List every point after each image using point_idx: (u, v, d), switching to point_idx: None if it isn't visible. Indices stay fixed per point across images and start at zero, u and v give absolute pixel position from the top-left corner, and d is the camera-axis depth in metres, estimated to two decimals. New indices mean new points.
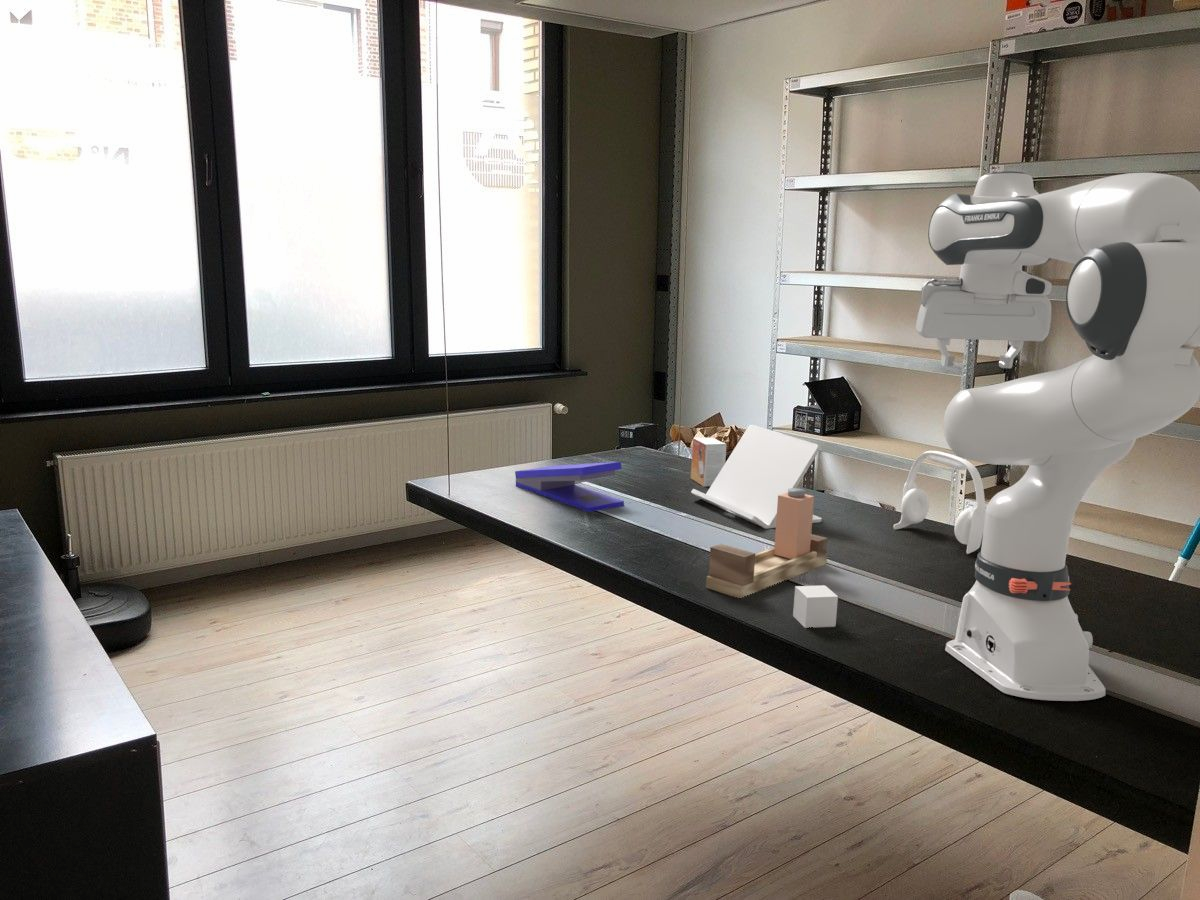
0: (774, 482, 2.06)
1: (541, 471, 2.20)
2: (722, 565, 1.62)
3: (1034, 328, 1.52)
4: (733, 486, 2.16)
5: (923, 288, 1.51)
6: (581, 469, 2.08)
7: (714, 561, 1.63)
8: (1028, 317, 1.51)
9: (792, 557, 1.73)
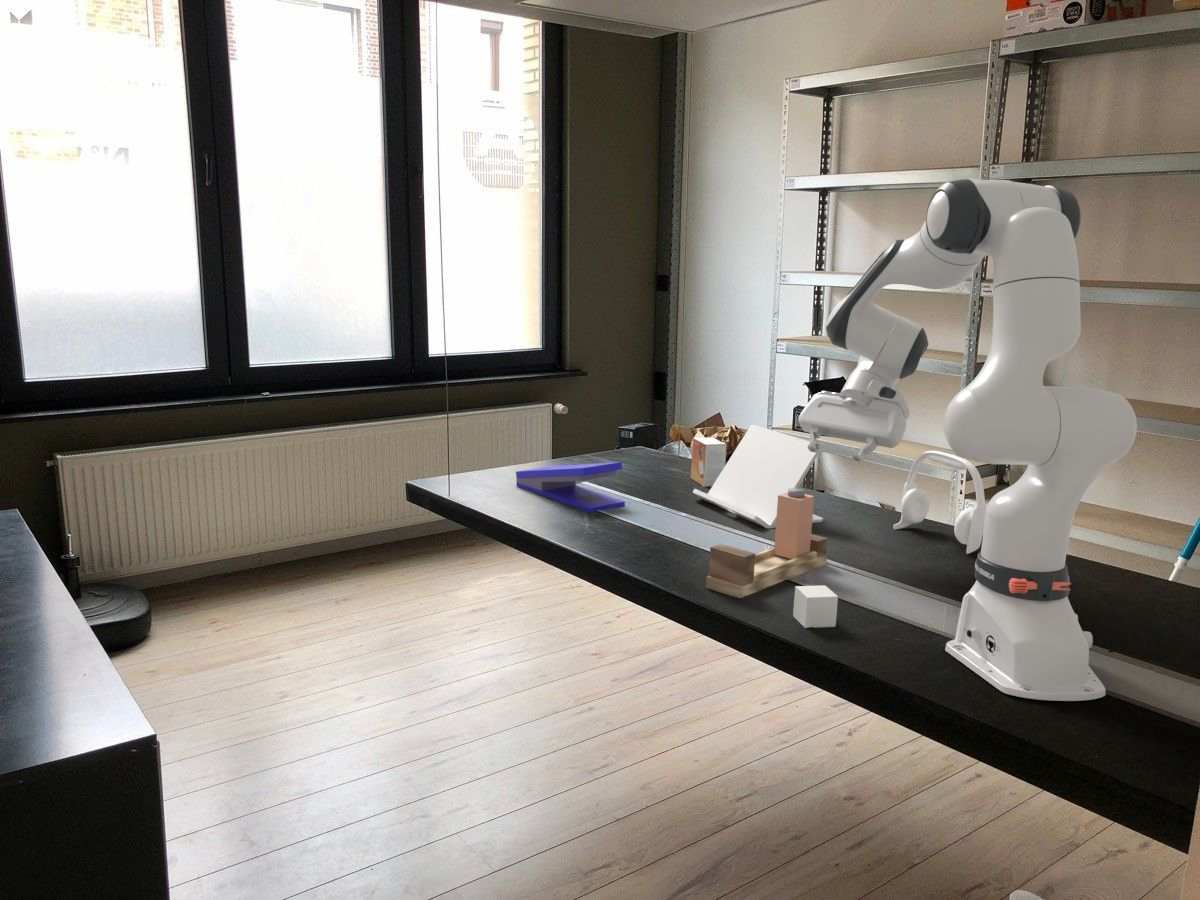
0: (776, 482, 2.07)
1: (542, 471, 2.20)
2: (722, 565, 1.62)
3: (883, 426, 1.78)
4: (735, 486, 2.16)
5: (813, 395, 1.92)
6: (582, 469, 2.08)
7: (714, 561, 1.63)
8: (881, 419, 1.79)
9: (792, 557, 1.73)
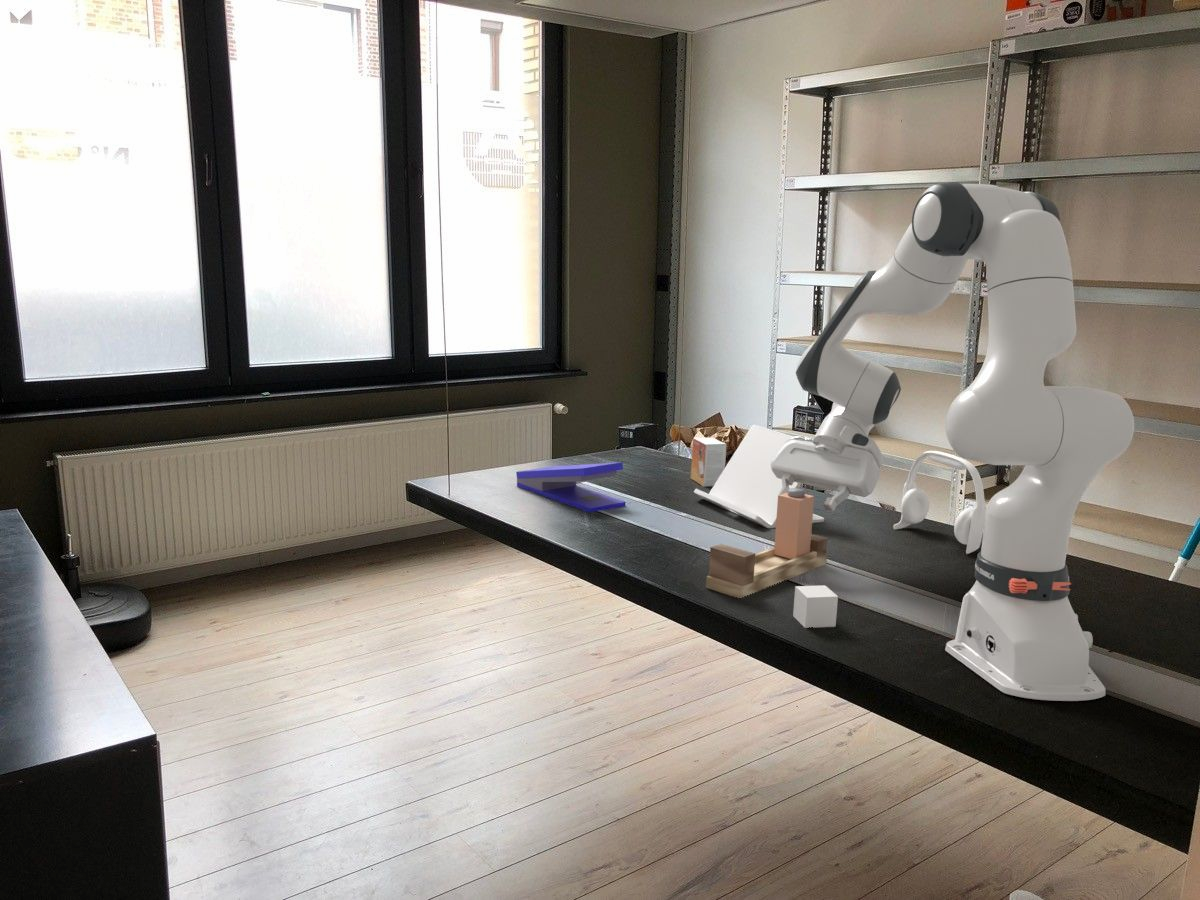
0: (777, 482, 2.07)
1: (542, 472, 2.20)
2: (722, 565, 1.62)
3: (855, 475, 1.73)
4: (736, 486, 2.16)
5: (787, 440, 1.87)
6: (582, 470, 2.07)
7: (714, 561, 1.63)
8: (853, 466, 1.74)
9: (792, 557, 1.73)
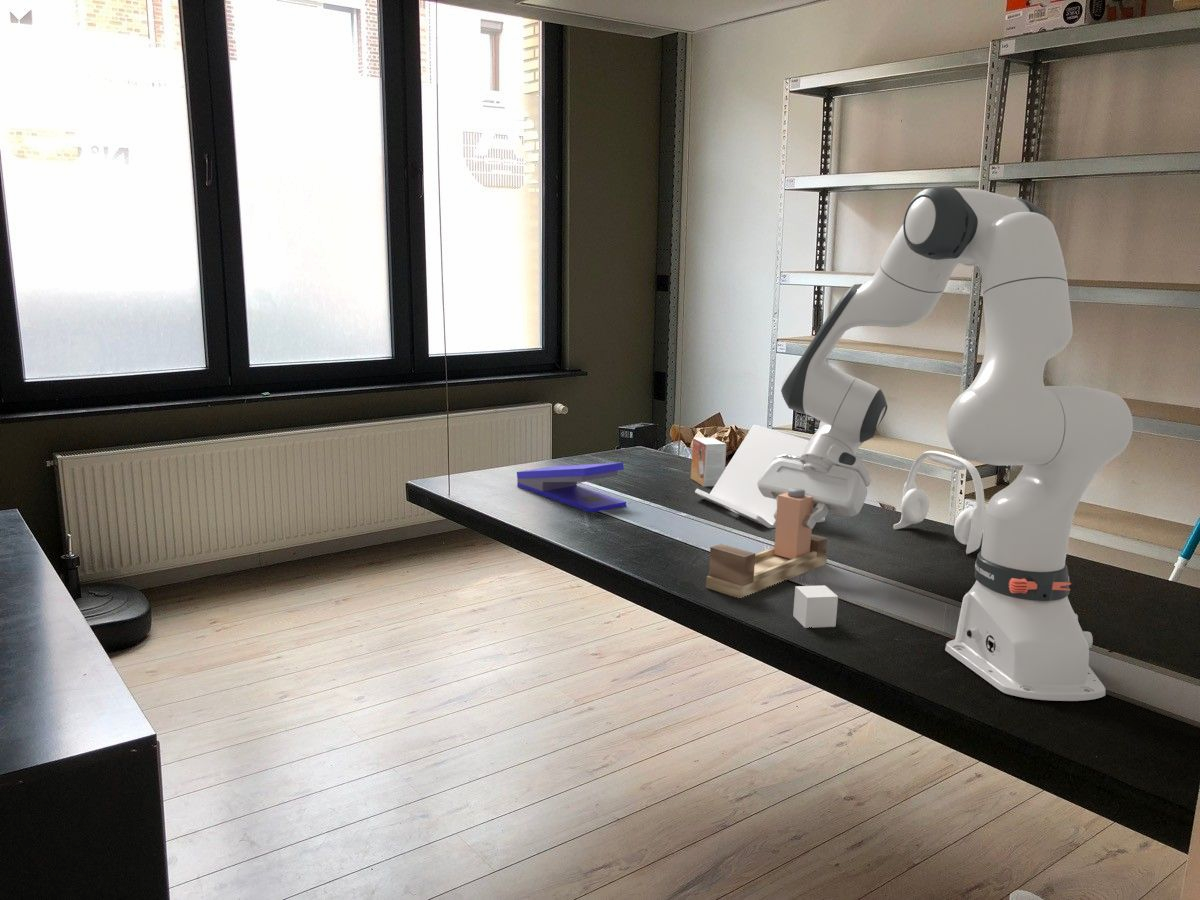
0: None
1: (543, 472, 2.19)
2: (722, 565, 1.62)
3: (842, 494, 1.70)
4: (737, 486, 2.17)
5: (774, 458, 1.85)
6: (583, 470, 2.07)
7: (714, 561, 1.63)
8: (840, 486, 1.72)
9: (792, 557, 1.73)
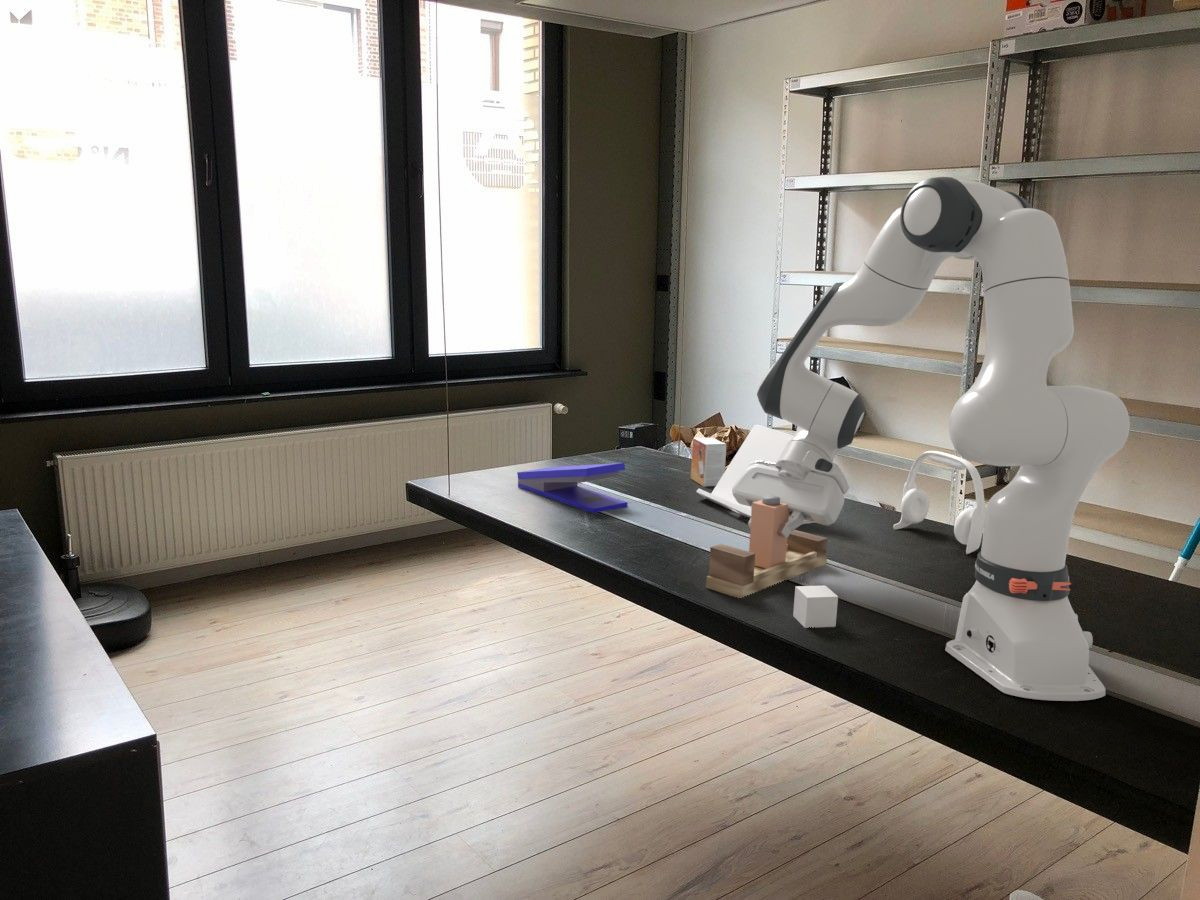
0: None
1: (544, 472, 2.19)
2: (722, 565, 1.62)
3: (817, 502, 1.65)
4: None
5: (750, 464, 1.80)
6: (585, 470, 2.07)
7: (714, 561, 1.63)
8: (816, 493, 1.66)
9: (767, 567, 1.67)
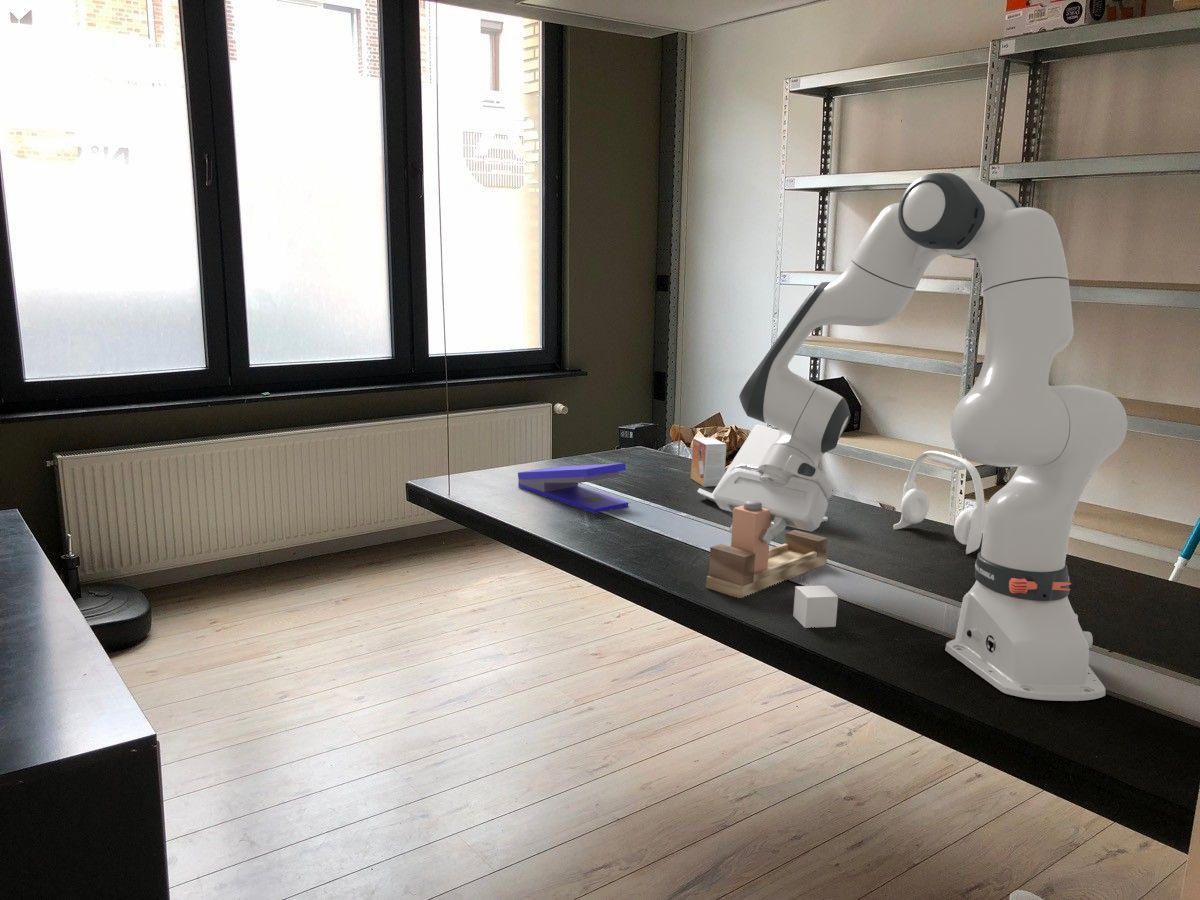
0: None
1: (544, 472, 2.19)
2: (722, 565, 1.62)
3: (800, 508, 1.61)
4: None
5: (732, 469, 1.76)
6: (586, 470, 2.07)
7: (714, 561, 1.63)
8: (799, 499, 1.62)
9: None
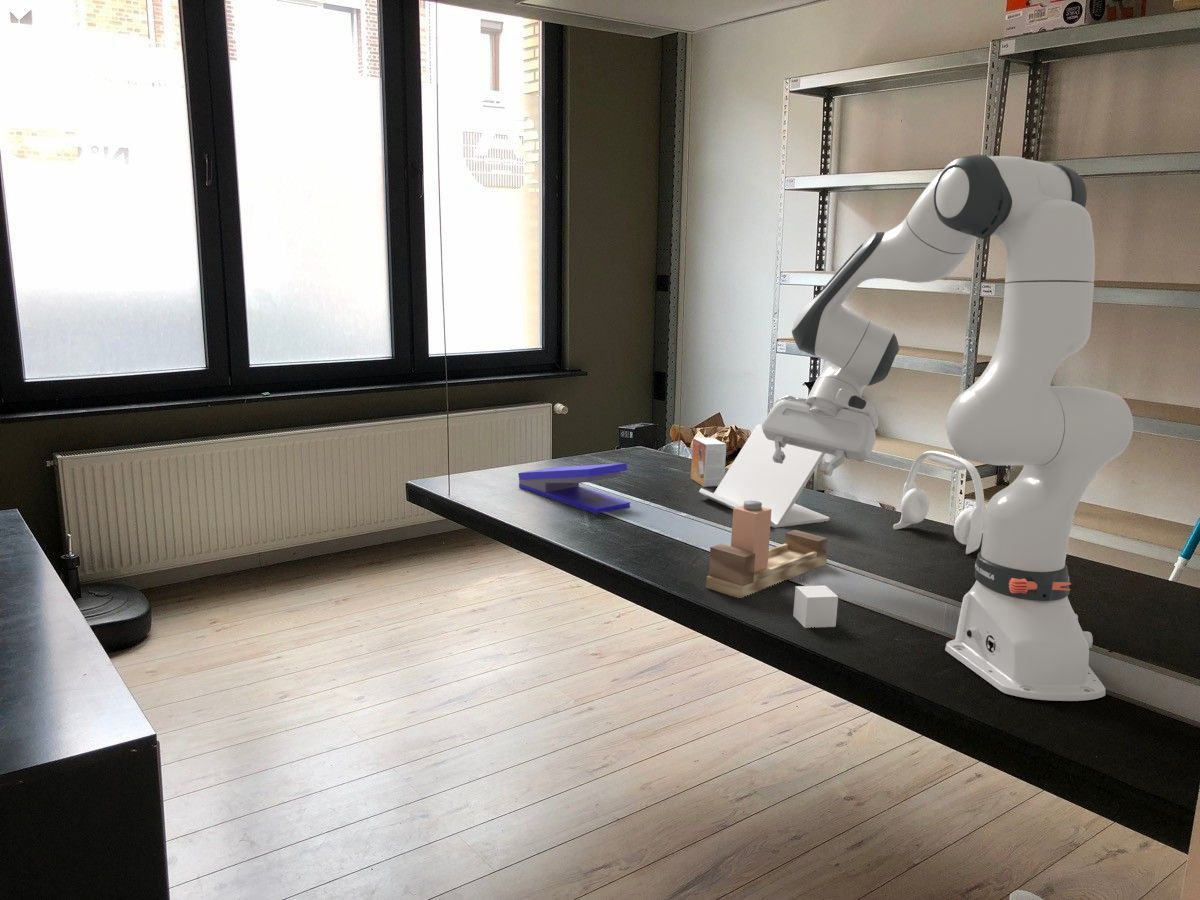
0: (782, 481, 2.07)
1: (546, 473, 2.19)
2: (722, 565, 1.62)
3: (852, 439, 1.68)
4: (741, 485, 2.17)
5: (777, 400, 1.82)
6: (587, 471, 2.07)
7: (714, 561, 1.63)
8: (850, 430, 1.70)
9: None
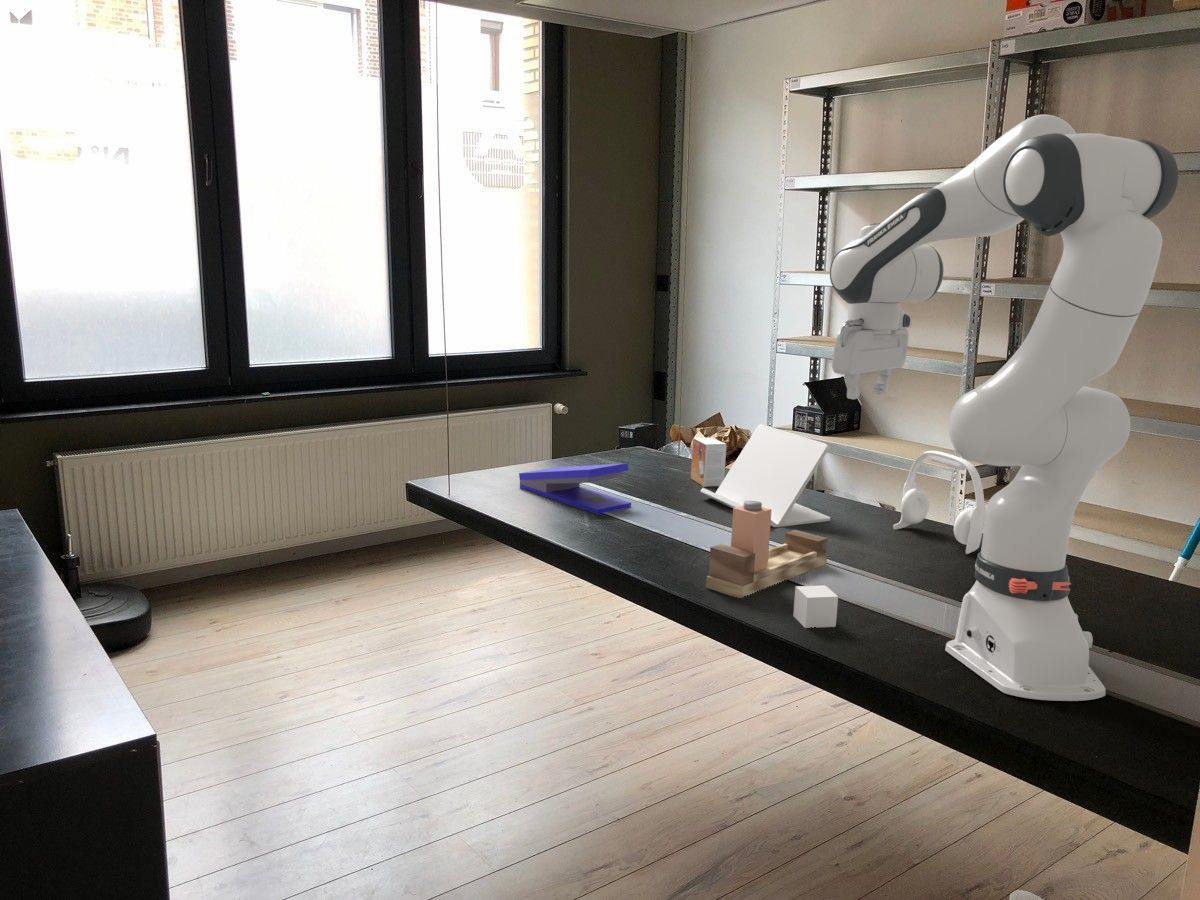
0: (783, 481, 2.07)
1: (547, 473, 2.18)
2: (722, 565, 1.62)
3: (899, 356, 1.76)
4: (742, 485, 2.17)
5: (844, 329, 1.63)
6: (589, 471, 2.07)
7: (714, 561, 1.63)
8: (897, 348, 1.75)
9: None
